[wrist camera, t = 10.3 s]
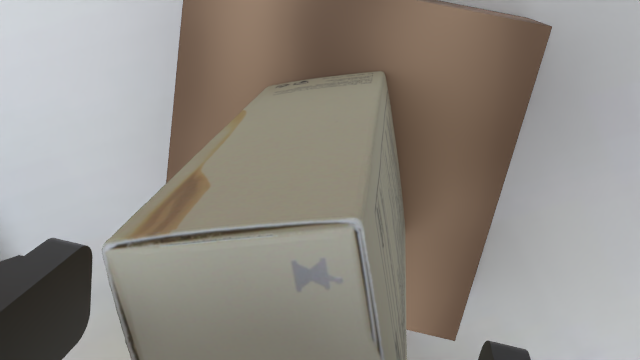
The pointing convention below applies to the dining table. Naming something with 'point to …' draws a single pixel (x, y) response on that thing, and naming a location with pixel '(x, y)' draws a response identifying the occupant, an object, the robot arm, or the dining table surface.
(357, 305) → the skincare box
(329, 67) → the walnut plinth
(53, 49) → the dining table surface
